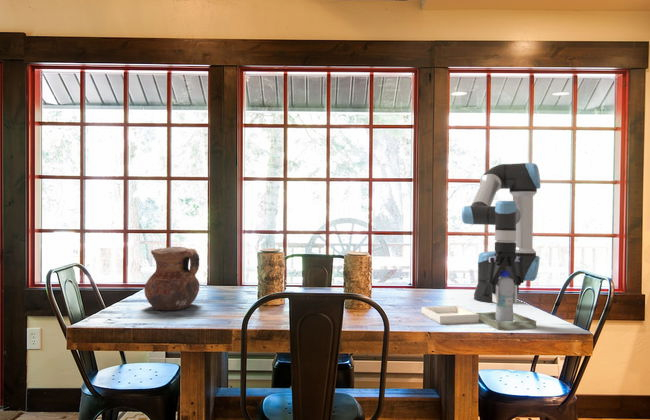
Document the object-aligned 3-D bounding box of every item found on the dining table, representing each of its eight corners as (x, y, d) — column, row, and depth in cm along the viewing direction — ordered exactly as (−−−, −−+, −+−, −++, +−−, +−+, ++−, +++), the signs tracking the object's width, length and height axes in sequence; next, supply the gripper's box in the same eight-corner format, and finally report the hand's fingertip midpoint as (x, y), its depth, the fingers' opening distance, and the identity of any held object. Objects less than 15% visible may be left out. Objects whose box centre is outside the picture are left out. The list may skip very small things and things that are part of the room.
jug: (139, 313, 180) (140, 250, 180) (148, 303, 201) (149, 246, 201) (197, 311, 185) (198, 250, 185) (200, 301, 205) (201, 246, 205)
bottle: (506, 326, 168) (507, 272, 168) (491, 322, 173) (491, 270, 173) (517, 324, 171) (518, 271, 171) (502, 320, 177) (502, 269, 177)
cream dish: (457, 312, 189) (457, 305, 189) (478, 322, 173) (478, 314, 173) (421, 314, 185) (421, 307, 185) (439, 324, 170) (440, 316, 170)
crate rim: (509, 317, 182) (510, 311, 182) (536, 327, 166) (536, 320, 166) (474, 319, 178) (474, 312, 178) (498, 329, 163) (498, 322, 163)
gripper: (522, 240, 178) (521, 299, 178) (476, 240, 174) (475, 300, 174) (535, 242, 171) (534, 303, 171) (487, 242, 166) (486, 305, 166)
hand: (504, 301), depth 172 cm, fingers open, 7 cm apart
